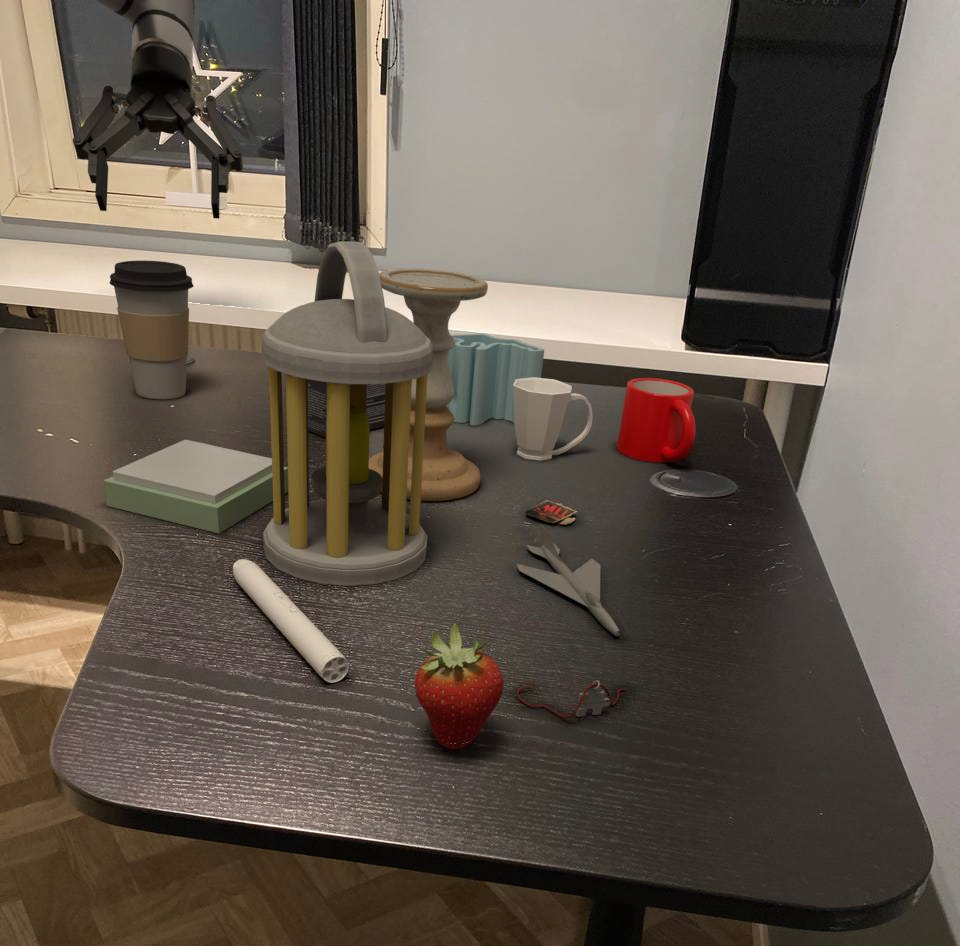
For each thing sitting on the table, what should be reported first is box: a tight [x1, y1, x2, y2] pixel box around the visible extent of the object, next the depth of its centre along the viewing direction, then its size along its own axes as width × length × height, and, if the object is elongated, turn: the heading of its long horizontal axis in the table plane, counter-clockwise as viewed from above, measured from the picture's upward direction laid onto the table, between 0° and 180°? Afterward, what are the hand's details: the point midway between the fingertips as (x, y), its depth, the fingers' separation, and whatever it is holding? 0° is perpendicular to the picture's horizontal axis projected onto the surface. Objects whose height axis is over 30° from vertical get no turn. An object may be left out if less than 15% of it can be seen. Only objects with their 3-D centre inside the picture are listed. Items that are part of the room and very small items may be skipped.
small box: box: [308, 379, 386, 439], centre depth 107 cm, size 11×6×10 cm, turn 139°
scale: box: [103, 439, 288, 534], centre depth 86 cm, size 12×12×3 cm
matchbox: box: [525, 499, 578, 525], centre depth 90 cm, size 5×5×1 cm
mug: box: [616, 377, 697, 463], centre depth 108 cm, size 8×12×8 cm, turn 24°
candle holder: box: [369, 268, 489, 502], centre depth 91 cm, size 12×12×20 cm
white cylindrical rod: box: [232, 558, 350, 684], centre depth 67 cm, size 18×2×2 cm, turn 34°
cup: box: [513, 377, 594, 462], centre depth 105 cm, size 7×10×8 cm
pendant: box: [516, 680, 628, 719], centre depth 61 cm, size 8×4×3 cm, turn 107°
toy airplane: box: [516, 524, 621, 637], centre depth 78 cm, size 8×21×2 cm, turn 18°
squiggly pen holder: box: [446, 333, 545, 427], centre depth 114 cm, size 18×10×9 cm, turn 116°
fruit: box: [414, 622, 505, 750], centre depth 55 cm, size 5×5×8 cm
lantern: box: [261, 240, 433, 587], centre depth 74 cm, size 14×14×25 cm
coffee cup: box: [108, 260, 195, 401], centre depth 111 cm, size 9×9×15 cm
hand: (158, 207), depth 113 cm, fingers open, 13 cm apart
